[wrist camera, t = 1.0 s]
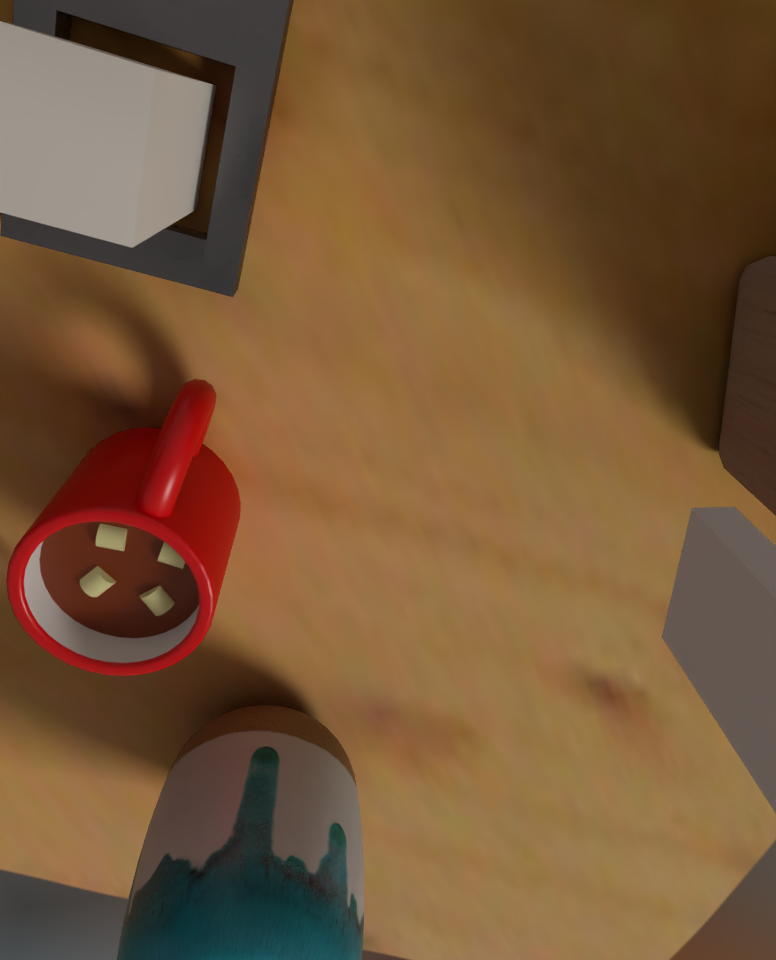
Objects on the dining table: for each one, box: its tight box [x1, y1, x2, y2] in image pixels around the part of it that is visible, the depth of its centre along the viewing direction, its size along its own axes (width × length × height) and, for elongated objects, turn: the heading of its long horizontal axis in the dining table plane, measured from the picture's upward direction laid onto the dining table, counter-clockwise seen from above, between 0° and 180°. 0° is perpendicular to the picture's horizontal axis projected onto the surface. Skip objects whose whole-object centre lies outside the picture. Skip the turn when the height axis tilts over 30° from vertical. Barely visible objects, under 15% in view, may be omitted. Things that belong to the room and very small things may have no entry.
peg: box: [0, 21, 216, 248], centre depth 24 cm, size 5×5×10 cm
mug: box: [7, 379, 241, 676], centre depth 31 cm, size 8×12×8 cm, turn 156°
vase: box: [117, 705, 364, 960], centre depth 34 cm, size 11×11×19 cm
